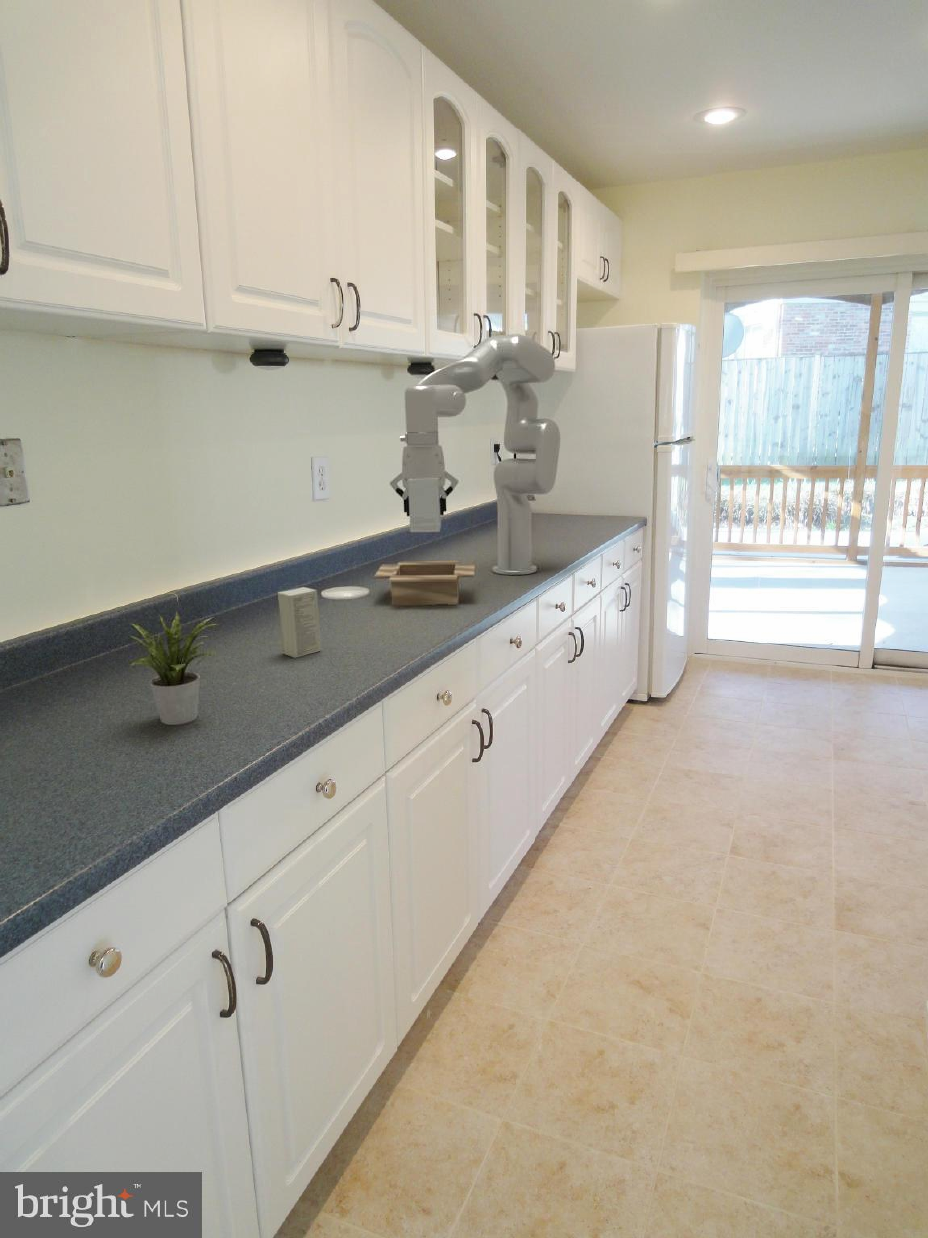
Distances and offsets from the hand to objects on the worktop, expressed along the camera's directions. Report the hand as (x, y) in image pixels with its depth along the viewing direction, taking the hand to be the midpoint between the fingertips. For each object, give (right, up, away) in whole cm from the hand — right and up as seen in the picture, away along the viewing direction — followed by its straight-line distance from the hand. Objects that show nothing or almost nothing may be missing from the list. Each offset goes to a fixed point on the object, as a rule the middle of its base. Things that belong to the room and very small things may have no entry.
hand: (425, 514), depth 195 cm
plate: (-21, -19, +10) cm, 30 cm away
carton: (0, -20, +5) cm, 20 cm away
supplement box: (0, -4, +1) cm, 4 cm away
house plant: (-32, -40, -74) cm, 90 cm away
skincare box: (-22, -32, -40) cm, 56 cm away
